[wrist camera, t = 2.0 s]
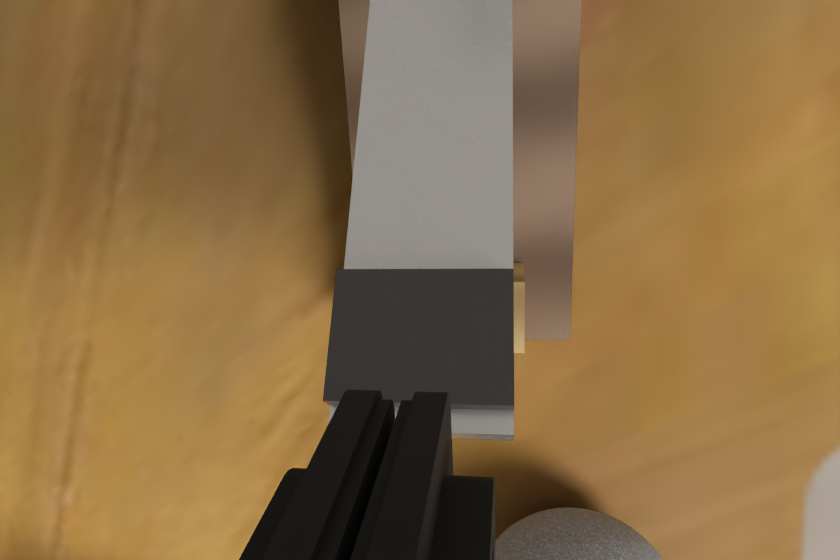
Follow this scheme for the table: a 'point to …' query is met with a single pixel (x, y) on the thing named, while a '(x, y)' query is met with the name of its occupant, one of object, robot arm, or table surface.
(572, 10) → the mount block
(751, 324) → the table surface
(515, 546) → the decorative stone
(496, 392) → the grey flat bar
